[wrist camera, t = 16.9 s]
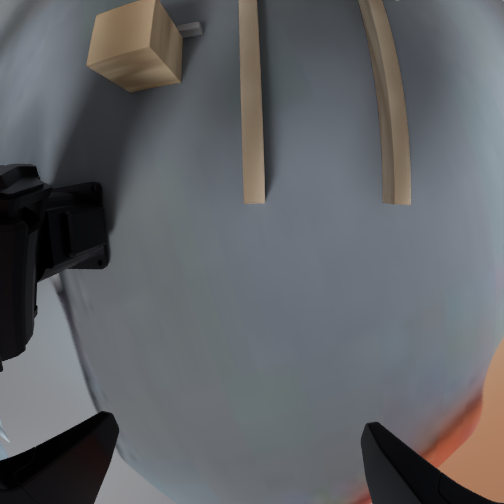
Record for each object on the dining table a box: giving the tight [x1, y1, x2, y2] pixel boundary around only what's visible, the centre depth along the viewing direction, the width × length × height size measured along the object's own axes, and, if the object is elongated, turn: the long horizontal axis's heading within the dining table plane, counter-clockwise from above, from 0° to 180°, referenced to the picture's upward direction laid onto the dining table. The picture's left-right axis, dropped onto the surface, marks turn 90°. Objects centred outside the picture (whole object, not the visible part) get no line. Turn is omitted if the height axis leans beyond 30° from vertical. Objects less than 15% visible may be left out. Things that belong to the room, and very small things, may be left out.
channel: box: [239, 0, 411, 205], centre depth 15 cm, size 10×18×2 cm, turn 2°
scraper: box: [86, 0, 203, 93], centre depth 13 cm, size 7×5×6 cm, turn 92°
